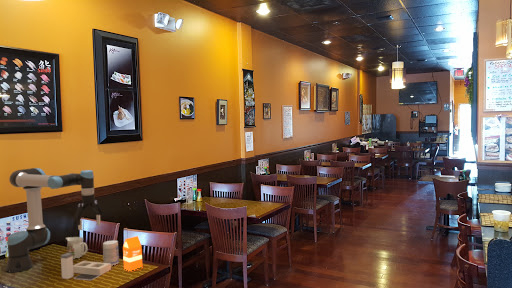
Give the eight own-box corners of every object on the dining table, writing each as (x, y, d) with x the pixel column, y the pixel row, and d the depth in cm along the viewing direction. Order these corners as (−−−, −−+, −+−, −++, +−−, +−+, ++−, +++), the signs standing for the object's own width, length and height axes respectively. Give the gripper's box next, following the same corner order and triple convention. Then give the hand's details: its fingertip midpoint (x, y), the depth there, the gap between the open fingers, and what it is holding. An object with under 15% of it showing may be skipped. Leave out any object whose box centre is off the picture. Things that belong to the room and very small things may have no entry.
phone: (91, 281, 227) (91, 279, 227) (73, 279, 231) (73, 277, 231) (99, 277, 234) (99, 275, 234) (82, 275, 238) (82, 273, 238)
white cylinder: (61, 278, 233) (60, 255, 232) (67, 275, 237) (66, 253, 237) (67, 278, 231) (66, 255, 231) (73, 276, 236) (72, 253, 235)
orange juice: (123, 269, 245) (122, 238, 244) (136, 265, 251) (134, 235, 250) (130, 271, 239) (128, 240, 239) (142, 267, 246) (141, 236, 245)
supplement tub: (120, 264, 254) (119, 242, 253) (105, 267, 249) (104, 245, 248) (117, 260, 262) (116, 239, 262) (102, 263, 257) (101, 241, 256)
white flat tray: (71, 272, 242) (71, 266, 242) (83, 267, 252) (82, 261, 251) (100, 275, 235) (99, 268, 235) (111, 269, 245) (110, 263, 244)
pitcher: (81, 261, 264) (80, 241, 263) (61, 259, 269) (60, 239, 269) (93, 256, 274) (92, 236, 274) (73, 254, 280) (72, 235, 279)
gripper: (74, 198, 234) (76, 232, 235) (108, 191, 256) (109, 223, 256) (66, 197, 238) (68, 231, 238) (100, 191, 259) (102, 222, 260)
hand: (89, 227), depth 247 cm, fingers open, 13 cm apart
